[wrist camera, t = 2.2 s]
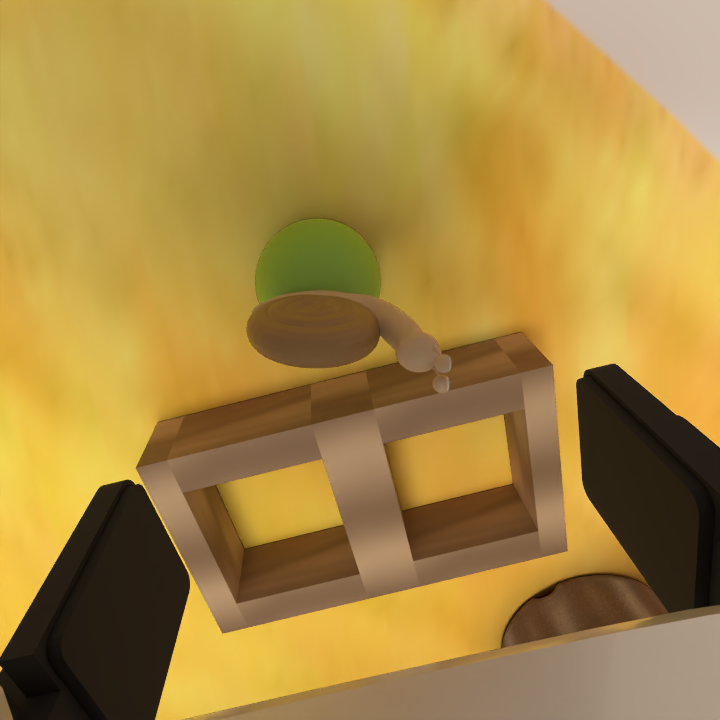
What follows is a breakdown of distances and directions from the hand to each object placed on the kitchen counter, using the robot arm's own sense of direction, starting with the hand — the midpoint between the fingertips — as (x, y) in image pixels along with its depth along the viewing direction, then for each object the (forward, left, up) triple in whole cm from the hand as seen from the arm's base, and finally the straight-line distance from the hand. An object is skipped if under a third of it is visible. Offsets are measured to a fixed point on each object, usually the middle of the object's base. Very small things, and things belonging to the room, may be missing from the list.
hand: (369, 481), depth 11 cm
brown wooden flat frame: (+12, -1, -16) cm, 20 cm away
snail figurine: (0, 0, -16) cm, 16 cm away
